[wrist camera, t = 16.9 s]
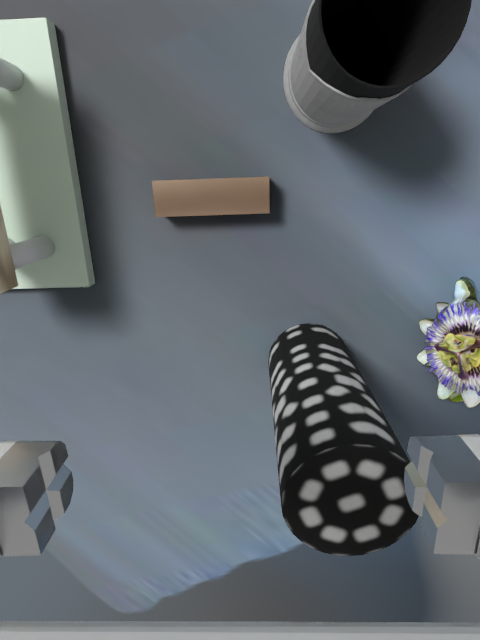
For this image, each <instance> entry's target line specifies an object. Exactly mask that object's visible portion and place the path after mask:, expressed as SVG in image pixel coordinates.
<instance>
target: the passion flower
mask: <svg viewBox="0 0 480 640" xmlns="http://www.w3.org/2000/svg"><path fill="white" fill-rule="evenodd" d="M476 294H477V290H476V287H475V284H474V282H473V281H472V280H471V279H469V278H467V277H461V278H460V279H459V280H457V282H456V285H455V292H454V297H455V299H454V300H453V302H451V303H445V302H438V303H436V309H437V311H438V314H437V317H436V318H435V319H422V320H420V322H419V324H420V329H421V330H422V332H423V333H424V334H425V335H426V337H427V339H426V341H425V343H427V344H428V346H427V347H425V348H424V350H421V351H420V353H419V354H418V355H417V359H418V361H420V362H421V363H422V364H424V365H426V366H431V368H430V369H428V370H427V371H429V370H430V373H432V372H433V373H435V375H436V376H437V377H438V381H439V383H438V388H437V395H438V397H439V398H440V399H446V398H448V397H449V399H450V400H451V401H452V402H463V401H464V403H465V404H466V406H467V407H469V408H471V407H475V406H476V405H478V404H479V403H480V304H479V302H478V301H477V298H476ZM424 365H423V366H424ZM427 371H426V372H427Z"/></svg>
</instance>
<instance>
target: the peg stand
mask: <svg viewBox="0 0 480 640" xmlns="http://www.w3.org/2000/svg"><path fill="white" fill-rule="evenodd" d="M0 205H1V209H2V214H3V218H4V223H5V227H6V232H7V236H8V241H9V245H10V250H11V254H12V259H13V263H14V268H15V272H16V277H17V281H18V286H17V287H14V288H12V289H29V288H67V287H90V286H92V285H93V284H95V278H94V272H93V265H92V259H91V253H90V246H89V240H88V234H87V227H86V221H85V215H84V208H83V202H82V195H81V189H80V183H79V176H78V170H77V164H76V157H75V151H74V145H73V138H72V132H71V125H70V119H69V113H68V106H67V100H66V94H65V87H64V81H63V75H62V68H61V62H60V55H59V49H58V43H57V36H56V30H55V24H53V23H52V22H51V21H50V20H48V19H47V18H29V19H10V20H0Z"/></svg>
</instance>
